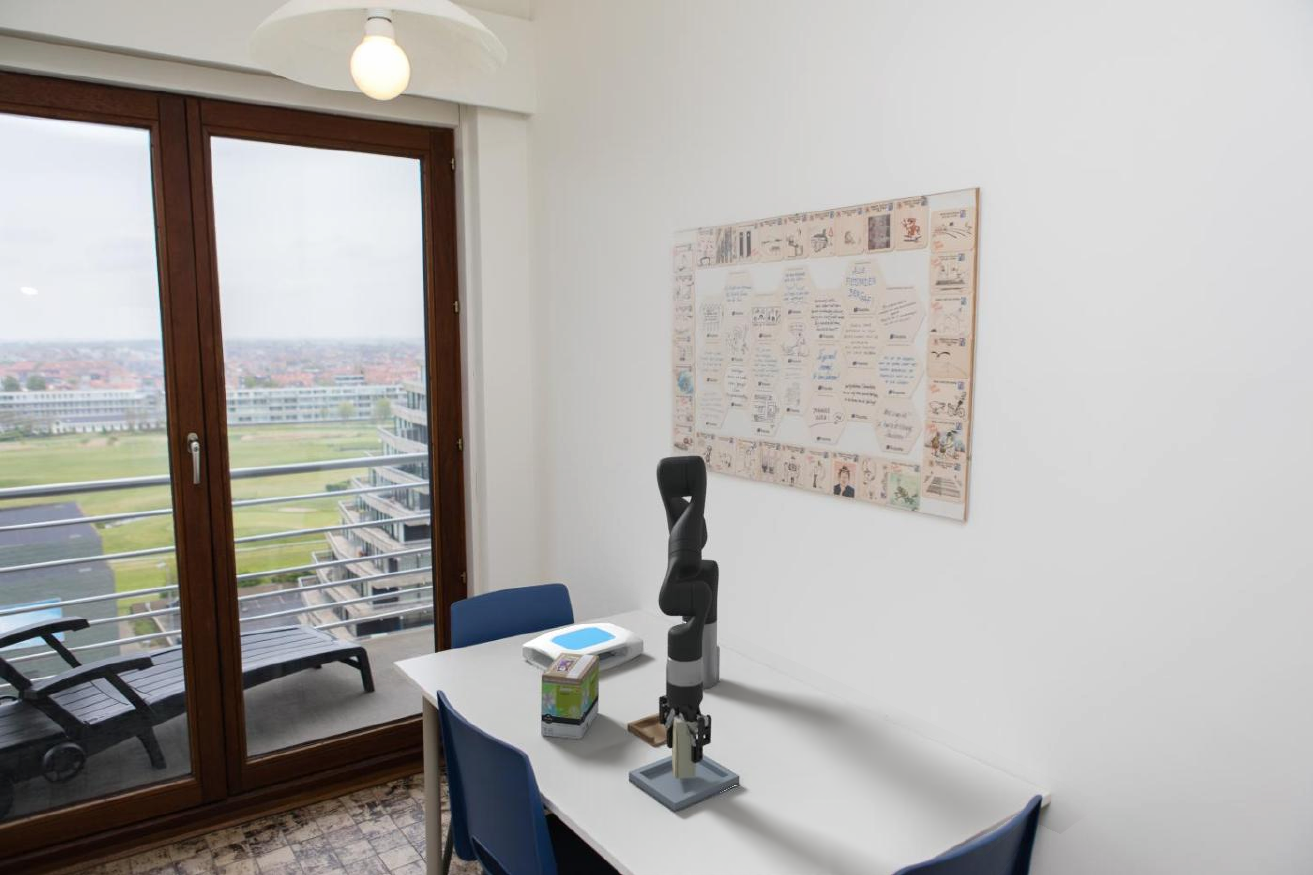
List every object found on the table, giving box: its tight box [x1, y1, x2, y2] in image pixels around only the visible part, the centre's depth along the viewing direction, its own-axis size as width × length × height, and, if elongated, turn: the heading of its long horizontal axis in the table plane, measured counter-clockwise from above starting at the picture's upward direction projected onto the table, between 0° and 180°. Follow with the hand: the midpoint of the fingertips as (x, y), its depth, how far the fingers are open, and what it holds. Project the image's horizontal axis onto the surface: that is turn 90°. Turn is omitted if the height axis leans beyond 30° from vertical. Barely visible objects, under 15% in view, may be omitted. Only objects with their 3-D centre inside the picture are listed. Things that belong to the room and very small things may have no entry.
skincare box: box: [671, 715, 698, 778], centre depth 173 cm, size 6×4×12 cm
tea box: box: [540, 653, 600, 740], centre depth 200 cm, size 15×10×15 cm
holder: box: [626, 712, 667, 748], centre depth 196 cm, size 11×10×2 cm
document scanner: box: [522, 622, 644, 672], centre depth 241 cm, size 21×28×6 cm
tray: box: [628, 754, 740, 814], centre depth 174 cm, size 17×15×2 cm
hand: (684, 754), depth 173 cm, fingers closed on skincare box, 7 cm apart
